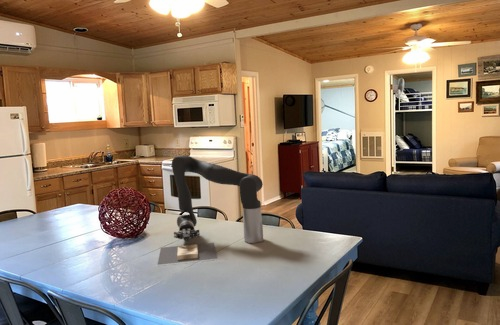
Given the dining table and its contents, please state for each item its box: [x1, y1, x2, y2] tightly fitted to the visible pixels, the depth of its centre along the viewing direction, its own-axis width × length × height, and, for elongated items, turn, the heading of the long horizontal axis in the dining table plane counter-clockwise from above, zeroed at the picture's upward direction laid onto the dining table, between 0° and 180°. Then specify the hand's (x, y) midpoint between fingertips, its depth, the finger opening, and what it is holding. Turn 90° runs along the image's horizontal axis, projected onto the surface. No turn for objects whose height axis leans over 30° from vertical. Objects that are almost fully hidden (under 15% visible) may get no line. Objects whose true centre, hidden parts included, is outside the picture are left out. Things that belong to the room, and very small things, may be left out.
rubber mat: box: [156, 242, 218, 267], centre depth 186 cm, size 26×24×1 cm
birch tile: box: [177, 243, 198, 260], centre depth 184 cm, size 9×2×14 cm
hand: (186, 238), depth 185 cm, fingers closed
